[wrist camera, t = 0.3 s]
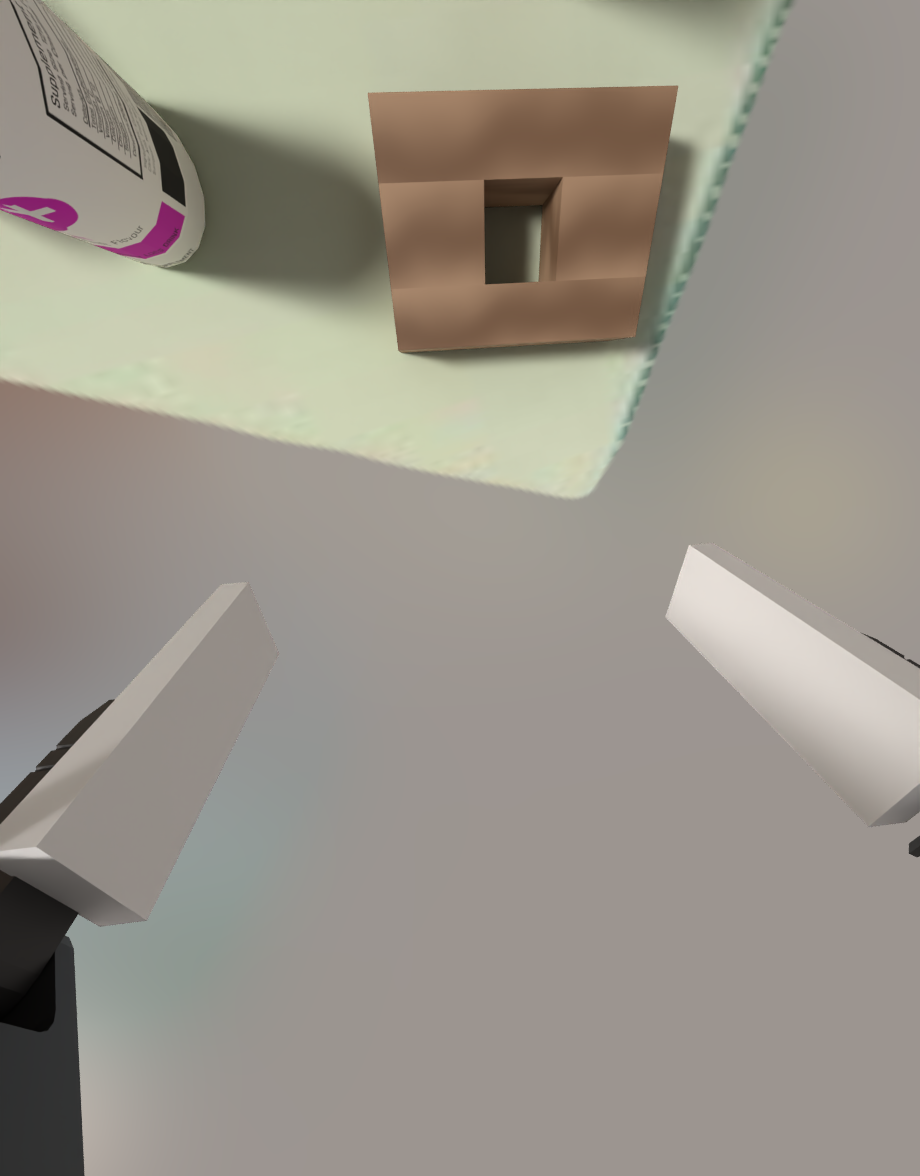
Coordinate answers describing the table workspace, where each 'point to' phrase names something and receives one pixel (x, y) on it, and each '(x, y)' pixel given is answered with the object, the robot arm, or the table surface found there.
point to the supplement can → (89, 146)
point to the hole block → (519, 178)
